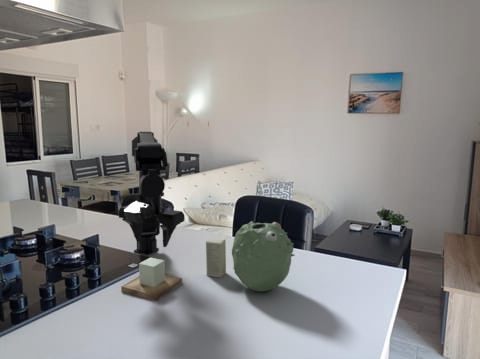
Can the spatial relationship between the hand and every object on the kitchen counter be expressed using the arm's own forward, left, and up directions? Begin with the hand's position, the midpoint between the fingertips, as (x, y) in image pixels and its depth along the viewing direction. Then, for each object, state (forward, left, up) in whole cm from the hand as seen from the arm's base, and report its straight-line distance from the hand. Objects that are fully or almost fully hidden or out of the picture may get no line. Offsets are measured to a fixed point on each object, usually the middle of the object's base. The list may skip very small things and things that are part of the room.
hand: (151, 244), depth 101 cm
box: (+12, +16, -13) cm, 24 cm away
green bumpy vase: (+28, +13, -13) cm, 33 cm away
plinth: (0, 0, -13) cm, 13 cm away
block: (0, 0, -11) cm, 11 cm away
